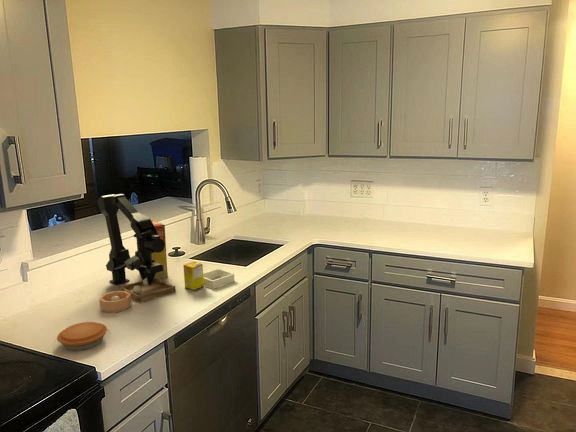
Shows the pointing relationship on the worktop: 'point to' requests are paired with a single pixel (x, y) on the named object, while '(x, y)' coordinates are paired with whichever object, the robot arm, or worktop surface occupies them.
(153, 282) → the tray
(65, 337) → the pie
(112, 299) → the pebble
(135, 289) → the pebble
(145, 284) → the pebble
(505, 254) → the worktop surface
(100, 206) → the robot arm
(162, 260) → the food packaging
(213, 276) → the cream holder
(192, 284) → the supplement box
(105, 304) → the bowl
